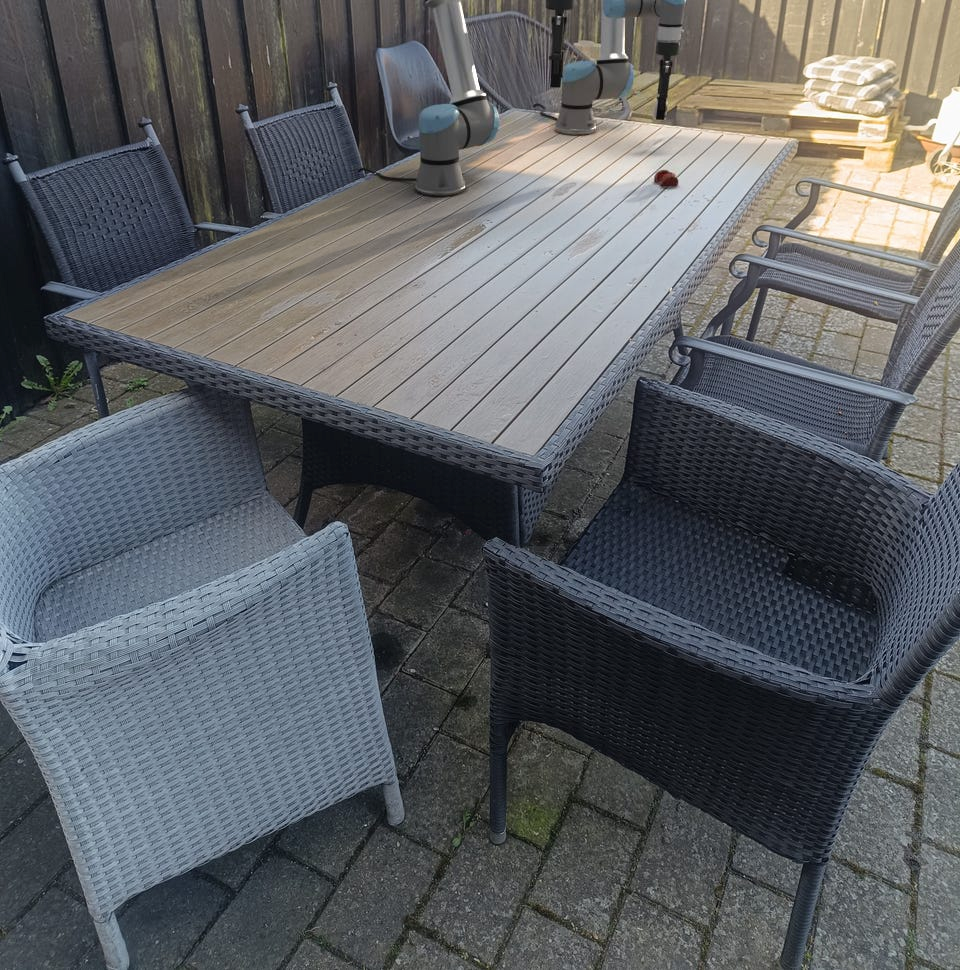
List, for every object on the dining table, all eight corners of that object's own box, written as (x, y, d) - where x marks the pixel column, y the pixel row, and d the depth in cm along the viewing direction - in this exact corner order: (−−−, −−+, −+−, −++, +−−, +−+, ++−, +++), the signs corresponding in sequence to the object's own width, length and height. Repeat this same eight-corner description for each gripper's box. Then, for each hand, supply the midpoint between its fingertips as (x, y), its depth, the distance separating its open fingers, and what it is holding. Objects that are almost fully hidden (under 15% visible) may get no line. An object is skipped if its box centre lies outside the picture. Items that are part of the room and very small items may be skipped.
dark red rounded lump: (669, 166, 264) (680, 173, 258) (668, 179, 266) (679, 187, 260) (653, 168, 263) (663, 175, 257) (652, 181, 265) (662, 189, 259)
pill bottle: (666, 121, 284) (669, 96, 280) (653, 120, 285) (655, 96, 280) (665, 118, 288) (668, 93, 283) (652, 117, 288) (655, 93, 284)
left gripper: (574, -3, 204) (568, 91, 216) (577, -14, 224) (571, 74, 236) (543, -4, 205) (539, 91, 217) (548, -14, 225) (545, 73, 237)
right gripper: (682, 45, 265) (672, 124, 279) (678, 37, 279) (669, 112, 293) (658, 45, 266) (649, 123, 279) (655, 36, 280) (647, 111, 293)
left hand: (556, 82), depth 227 cm, fingers open, 13 cm apart
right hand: (659, 117), depth 286 cm, fingers closed on pill bottle, 4 cm apart
